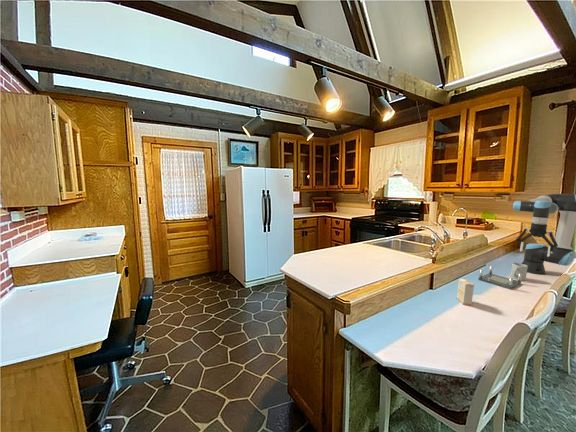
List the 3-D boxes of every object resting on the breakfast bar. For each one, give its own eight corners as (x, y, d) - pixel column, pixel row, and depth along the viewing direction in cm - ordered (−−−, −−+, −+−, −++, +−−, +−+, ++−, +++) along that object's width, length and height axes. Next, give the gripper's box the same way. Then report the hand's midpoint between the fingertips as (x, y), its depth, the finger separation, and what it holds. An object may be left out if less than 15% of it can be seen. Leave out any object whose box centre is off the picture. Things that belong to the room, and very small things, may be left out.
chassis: (489, 274, 192) (490, 265, 191) (521, 283, 176) (522, 274, 175) (478, 279, 182) (479, 270, 181) (510, 289, 166) (512, 279, 165)
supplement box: (471, 305, 144) (474, 284, 142) (462, 304, 145) (465, 283, 143) (464, 298, 152) (467, 279, 150) (456, 298, 153) (458, 278, 151)
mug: (513, 275, 192) (515, 262, 190) (527, 279, 184) (529, 265, 183) (506, 278, 186) (508, 264, 184) (520, 282, 179) (523, 268, 177)
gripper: (513, 221, 173) (508, 249, 176) (565, 227, 152) (559, 259, 155) (516, 220, 177) (512, 248, 180) (568, 225, 156) (562, 257, 159)
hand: (534, 253), depth 168 cm, fingers open, 13 cm apart
